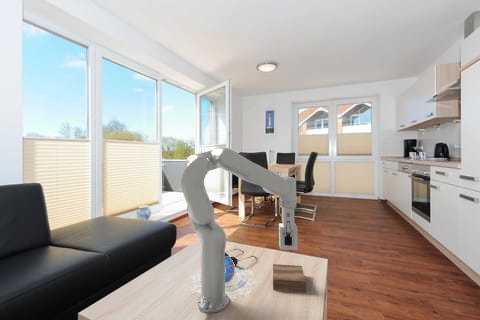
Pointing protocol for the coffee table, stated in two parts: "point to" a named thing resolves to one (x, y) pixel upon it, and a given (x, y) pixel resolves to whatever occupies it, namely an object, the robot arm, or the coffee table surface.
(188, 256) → the coffee table surface
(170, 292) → the coffee table surface
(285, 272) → the walnut block
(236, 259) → the sunglasses
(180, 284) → the coffee table surface
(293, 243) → the small box
